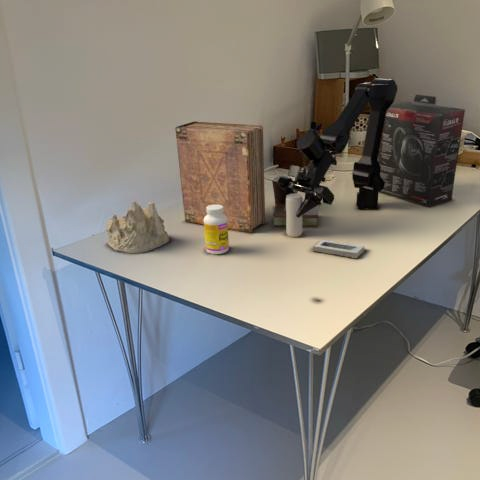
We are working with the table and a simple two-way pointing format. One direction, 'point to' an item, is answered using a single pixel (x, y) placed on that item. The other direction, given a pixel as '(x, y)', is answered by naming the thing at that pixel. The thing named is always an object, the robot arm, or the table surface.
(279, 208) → the dark wooden slab
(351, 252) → the picture frame
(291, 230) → the beverage can
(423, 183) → the headset box
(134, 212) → the beige rock formation
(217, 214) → the supplement bottle
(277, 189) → the coffee mug
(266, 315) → the table surface
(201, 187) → the book
